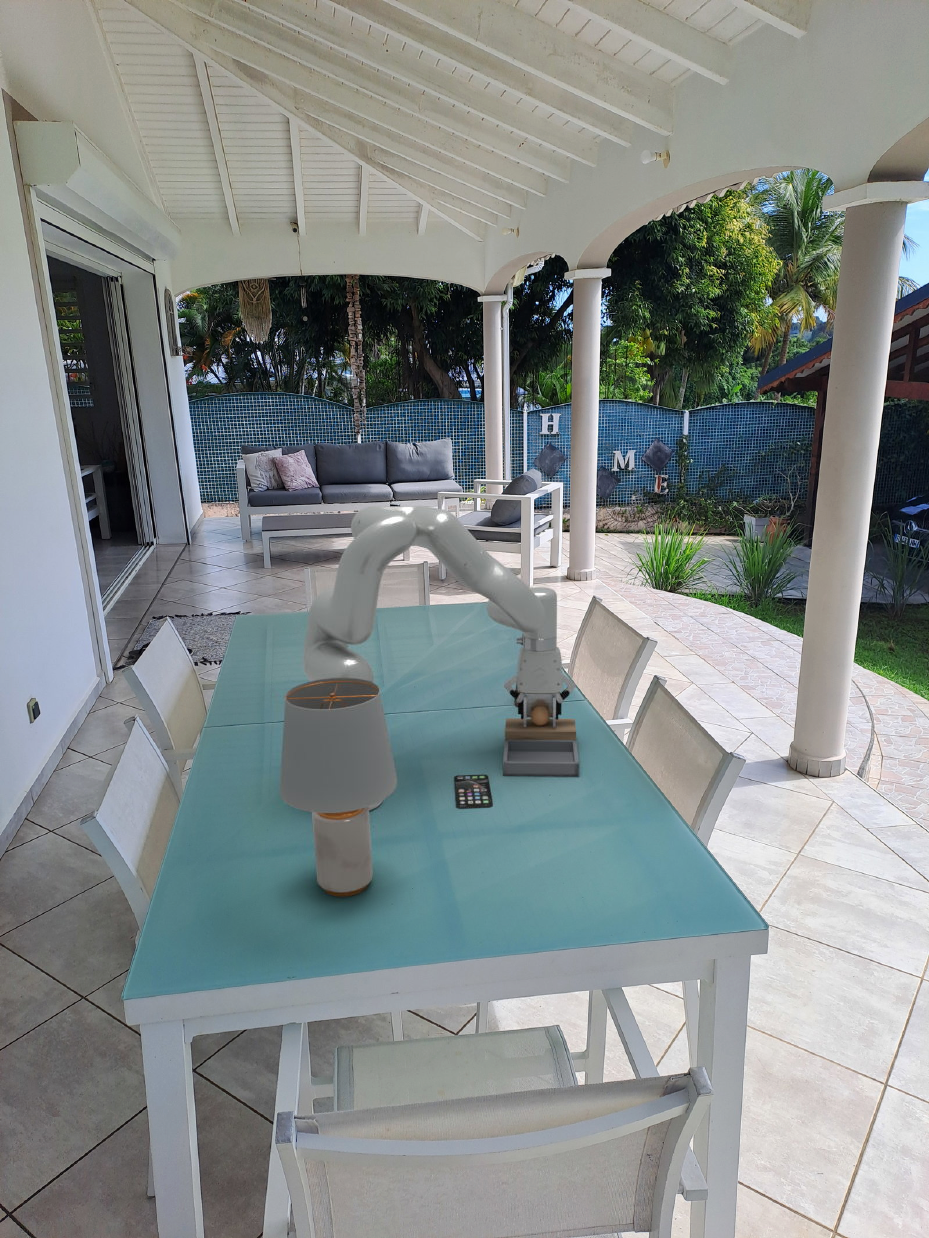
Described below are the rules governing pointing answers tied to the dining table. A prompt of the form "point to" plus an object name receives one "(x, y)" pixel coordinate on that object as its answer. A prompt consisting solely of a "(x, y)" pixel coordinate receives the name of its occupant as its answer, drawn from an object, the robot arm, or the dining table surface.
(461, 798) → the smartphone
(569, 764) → the tray
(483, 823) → the dining table surface
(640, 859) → the dining table surface
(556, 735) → the ledge
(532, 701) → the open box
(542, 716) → the ball
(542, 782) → the dining table surface
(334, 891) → the lamp
